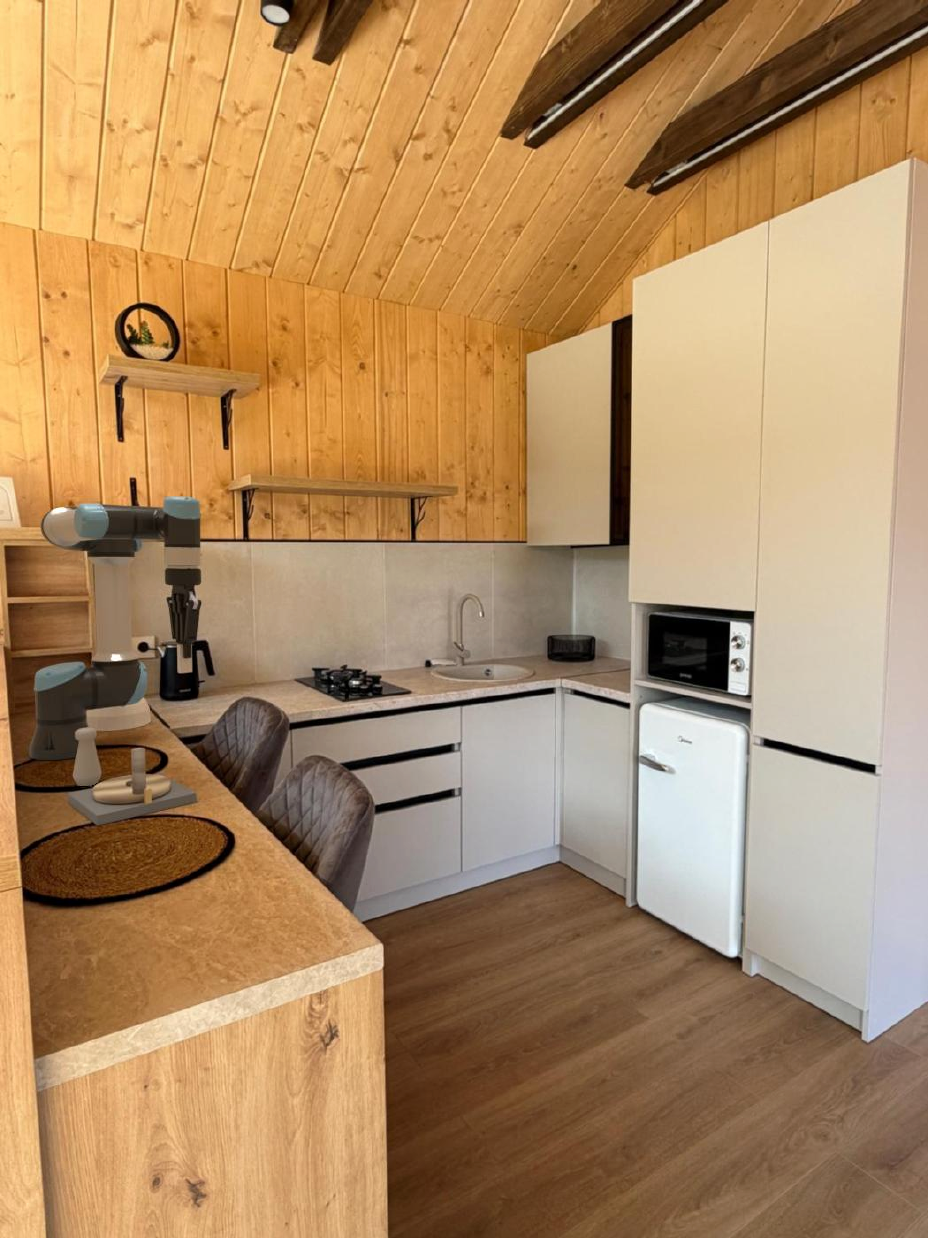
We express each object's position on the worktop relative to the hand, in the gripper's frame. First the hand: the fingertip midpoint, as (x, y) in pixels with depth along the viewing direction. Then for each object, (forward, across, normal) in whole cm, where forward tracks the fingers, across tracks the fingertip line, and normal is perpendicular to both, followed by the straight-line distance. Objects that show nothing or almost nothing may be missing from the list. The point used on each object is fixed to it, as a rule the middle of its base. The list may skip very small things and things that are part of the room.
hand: (184, 672), depth 163 cm
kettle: (+28, +73, -10) cm, 79 cm away
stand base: (+26, -3, +13) cm, 30 cm away
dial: (+24, -3, +13) cm, 28 cm away
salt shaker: (+27, +16, +16) cm, 35 cm away
